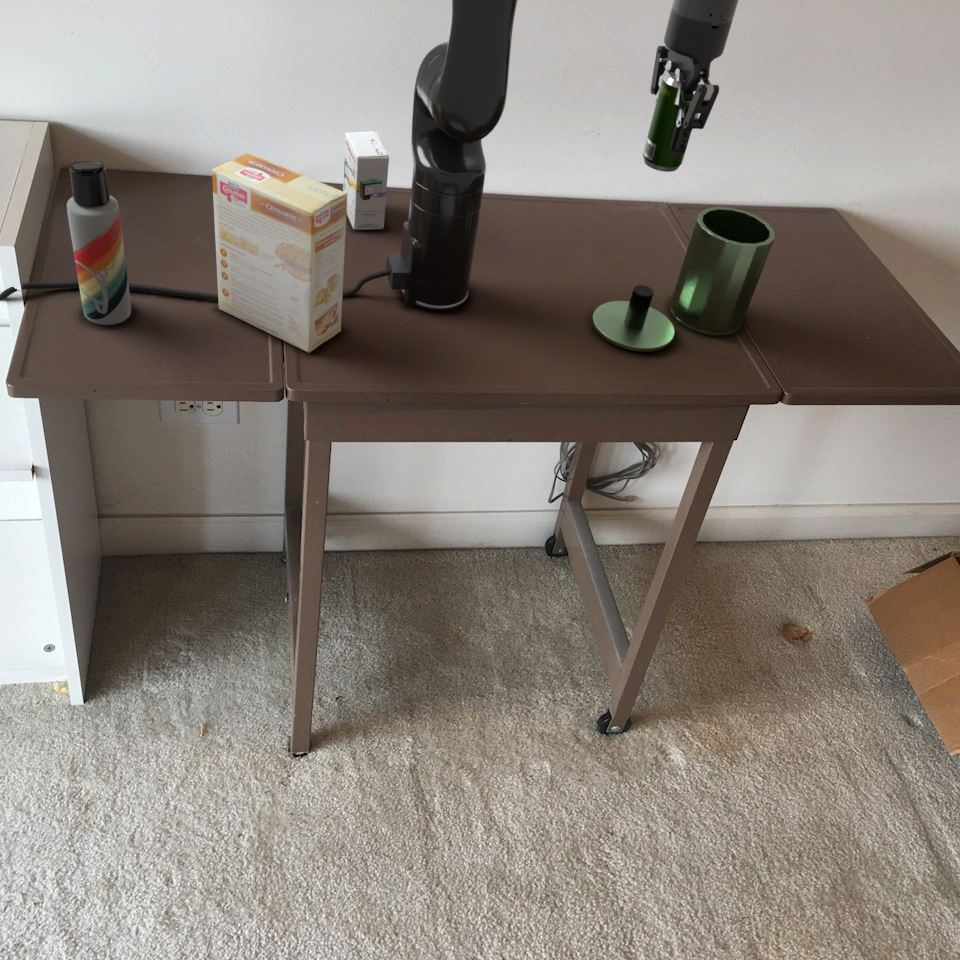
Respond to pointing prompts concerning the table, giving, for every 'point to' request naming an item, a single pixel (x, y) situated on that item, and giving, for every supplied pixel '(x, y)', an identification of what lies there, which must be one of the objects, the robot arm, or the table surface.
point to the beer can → (664, 127)
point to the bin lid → (634, 322)
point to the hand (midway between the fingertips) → (666, 143)
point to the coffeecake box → (279, 250)
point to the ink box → (365, 179)
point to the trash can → (721, 270)
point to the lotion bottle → (98, 245)
